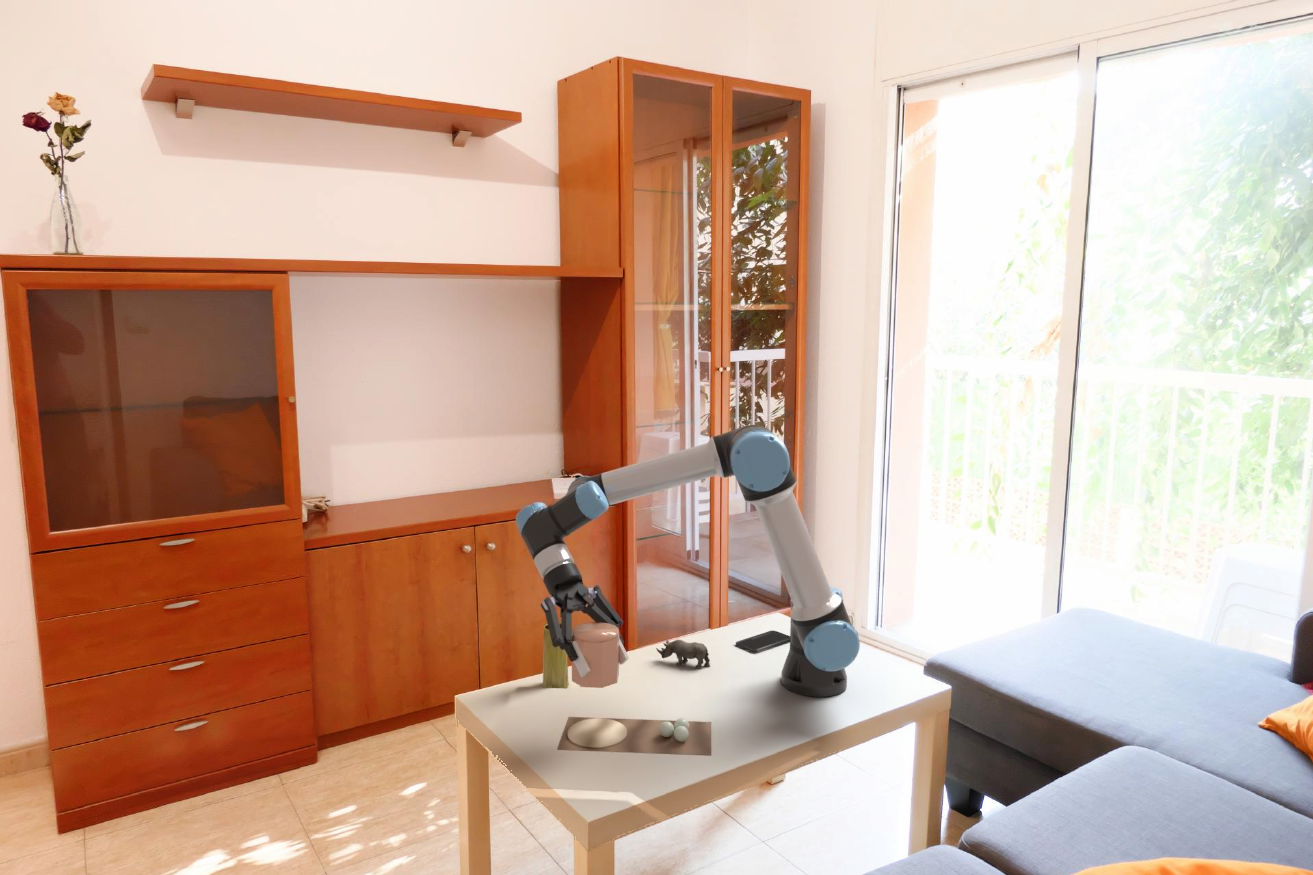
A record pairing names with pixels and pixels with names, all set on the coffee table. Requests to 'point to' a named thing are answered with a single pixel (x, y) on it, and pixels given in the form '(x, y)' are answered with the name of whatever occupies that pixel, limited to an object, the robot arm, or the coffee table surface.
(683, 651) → the rhino figurine
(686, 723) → the marble
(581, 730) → the coaster
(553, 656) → the vase
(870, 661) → the coffee table surface
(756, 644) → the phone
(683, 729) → the marble
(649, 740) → the board
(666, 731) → the marble
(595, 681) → the domed lid canister
